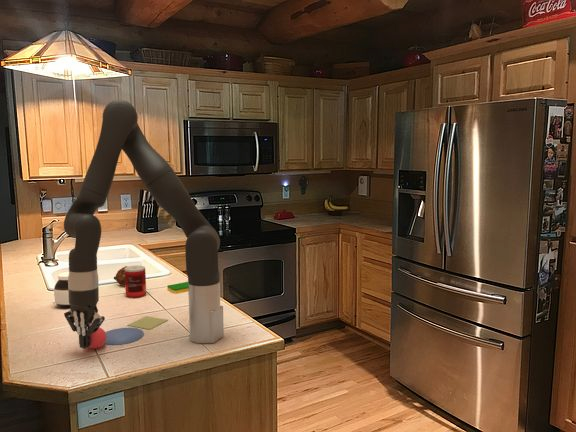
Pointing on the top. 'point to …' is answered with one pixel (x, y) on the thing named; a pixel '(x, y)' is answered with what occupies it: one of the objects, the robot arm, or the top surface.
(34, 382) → the top surface
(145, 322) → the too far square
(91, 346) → the ball
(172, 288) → the dish sponge
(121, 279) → the brown oval piece
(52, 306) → the top surface
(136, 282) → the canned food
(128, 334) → the disc
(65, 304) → the spread jar
